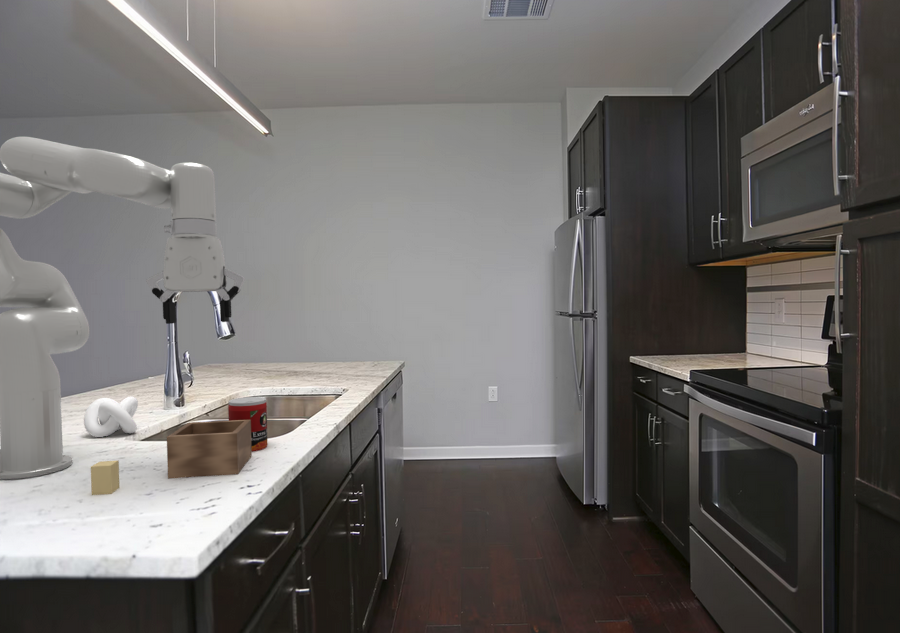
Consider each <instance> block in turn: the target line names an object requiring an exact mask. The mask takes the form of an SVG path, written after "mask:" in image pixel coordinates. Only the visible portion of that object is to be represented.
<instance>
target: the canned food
mask: <svg viewBox="0 0 900 633" xmlns="http://www.w3.org/2000/svg"><path fill="white" fill-rule="evenodd" d="M227 405H228V406H227V407H228V408H227V409H228V410H227V414H228V416H227V417H228V421H232V420H251V450H252V453H255V452H258V451H261V450H264V449H266V448H268V406H267V405H268V404H267V398H266V397H262V396H245V397H243V396H242V397H236V398H233V399H230V400H228V403H227Z"/></svg>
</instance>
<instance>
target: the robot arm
mask: <svg viewBox="0 0 900 633" xmlns="http://www.w3.org/2000/svg"><path fill="white" fill-rule="evenodd" d="M0 162H1V165H2V166H3V168H4V169H5V170H6V171H7V172H8V173H10V174H7V173H3V172H0V217H6V218H11V219H21V220H22V219H28V218H32V217H34V216H37V215H39V214H40V213H42V212H44V210H46V209H48V208H49V207H51V206H52V205H53V204H55V203H57V202H59V201H61V200H62V199H63V198H65V197H67V196H68V195H70V194H71V193H73V192H74V193H79V194H90V193H93V192H94V193H99V194H102V195H108V196H112V197H116V198H121V199H125V200H129V201H132V202H136V203H139V204H143V205H147V206H149V207H153V208H156V209H162V210H169V209H171V212H170V213H171V221H170V224H168V225H164V227H163V230H164V233H166V234H168V233H169V234H170V235H171V236H172V237H167V240H166V244H165V248H164V250H165V251H164V257H163V258H164V261H163V270H161V271H159V272H158V273H156V274H153V275H152V276H150V277H147V279H146V280H145V281H146V284H147V285H148V287H149V289H150V290H151V293H152V294H153V295H154V296H155V297H157V299H159V301H160V302H162V317H163V320H165V323H166V325H167V324H169V325H170V324H176V322H177V310H176V302H175V301H173V300H174V298H175V297H176V296H177V295H178V294H179V293H181V292H182V293H189V292H190V293H192V292H193V293H194V292H197V293H199V292H201V293H202V292H216V293H217V294H218V296H220V298H221V300H220V301H219V313H220V314H219V315H220V322H221V323H229V322H230V318H232V300H234V298H235V297H236V296H237V295H238V294H239V293H240V291H241V288H242V287H243V285H244V283H245V281H246V278H245V277H244V276H242V275H241V274H239V273H236V272H233V271H232V270H231V269H227V267H226V262H225V261H226V260H225V255H224V254H225V253H224V249H223V246H222V242H221V238H218V236H217V211H216V210H217V208H216V207H217V206H216V189H215V188H216V186H215V185H216V184H215V180H216V179H215V174H214V171H213V169H212V168H211V167H210V166H207V165H205V164H202V163H198V162H180V163H179V162H178V163H175V164H174V165H172V166H171V167H170V169H167V168H164V167H160V166H158V165H156V164H153V163H151V162H148V161H146V160H143V159H141V158H137V157H134V156H131V155H127V154H122V153H117V152H111V151H107V150H102V149H97V148H85V147H80V146H75V145H69V144H66V143H60V142H55V141H52V140H51V141H50V140H48V139H42V138H36V137H32V136H16V137H11V138H10V139H7V140H6V141H5V142H4V143H3V144H1V146H0ZM227 278H229V279H232V280H233V281H234V284H233V285H232V286H231V288H229V290H228V289H227V284H228V282H227ZM161 281H163V286H164V289H165V291H164V290H163V289H162V288H161V287H160V286H159V282H161ZM0 308H11V309H8V310H6V311H3V312H1V313H0V480H17V479H26V478H34V477H38V476H39V477H40V476H42V475H48V474H52V473H55V472H58V471H62V470H64V469H65V470H66V469H67V468H68V467H69V468H70V466H72V464H73V462H74V461H73V457H72V456H71V455H66V454H63V452H64V451H63V448H64V447H63V421H62V418H63V417H62V394H61V393H62V392H61V390H62V388H61V377H60V373H59V369H58V367H57V365H56V364H55V362H54V360H53V358H52V356H51V355H58V354H65V353H71V352H75V351H77V350H79V349H81V348H82V347H84V346H85V345H86V343H87V341H88V340H89V337H90V324H89V320H88V318H87V315H86V314H85V312H84V310H83V308H82V306H81V303H80V301H79V300H78V298H77V296H76V293H74V290H73V289H72V286H71V285H70V283H69V282H68V280H67V278H66V277H65V274H63V273H62V272H61V271H60V270H59V269H58V268H56V267H55V266H53V265H51V264H49V263H45V262H42V261H34V260H26V259H24V258H21V257H20V255H19V254H18V252H17V251H16V249H15V248H14V246H13V244H12V242H11V240H10V238H9V236H8V235H7V233H6V232H5V231H4V230H3V229H2V228H1V227H0ZM12 308H13V309H12Z"/></svg>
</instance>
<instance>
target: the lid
mask: <svg viewBox="0 0 900 633" xmlns="http://www.w3.org/2000/svg"><path fill="white" fill-rule="evenodd" d="M119 462H120V461H119V460H107V461H106V460H105V461H104V460H103V461H98V462H97V463H94V464H93V465H91V466H90V482H91V483H90V484H91V496H101V495H112V494H113V493H114V492H116V491H117V490H119V489H120V463H119Z"/></svg>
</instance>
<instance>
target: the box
mask: <svg viewBox="0 0 900 633" xmlns="http://www.w3.org/2000/svg"><path fill="white" fill-rule="evenodd" d="M166 454H167V455H166V456H167V458H166V459H167V461H166V462H167V479H168V480H169V479H185V478H186V479H187V478H198V477H199V478H201V477H217V476H231V475H232V476H233V475H239V474H240V472H241V471H242V470H243V468H244V467H245V466H246V464H247V463H248V462H249V460H250V459H251V458H252V457H253V456H252V454H253V452H252V450H251V420H232V421H229V420H217V421H216V420H215V421H196V422H195V421H194V422H192V421H191V422H188V423H186V424H184V425H183V426H181V427H179V428H178V429H177V430H175V431H173V432H172V433H170V434H169V435H168V436H166Z"/></svg>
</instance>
